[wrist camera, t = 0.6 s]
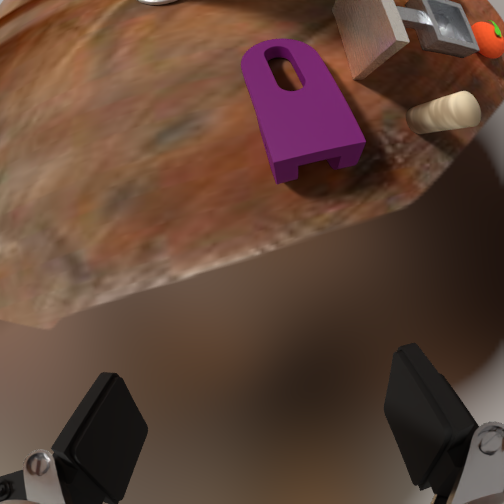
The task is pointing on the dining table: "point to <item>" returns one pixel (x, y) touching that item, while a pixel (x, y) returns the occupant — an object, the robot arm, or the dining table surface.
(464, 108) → the maple peg
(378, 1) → the cup bracket
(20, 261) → the dining table surface
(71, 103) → the dining table surface
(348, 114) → the mounting bracket
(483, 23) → the clementine
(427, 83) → the dining table surface
